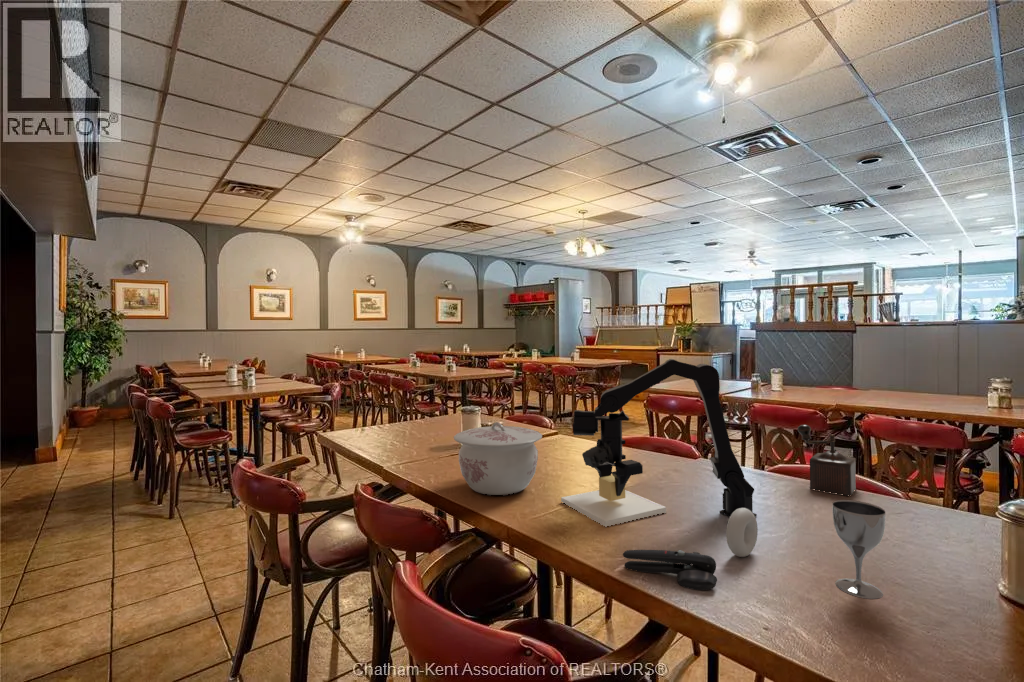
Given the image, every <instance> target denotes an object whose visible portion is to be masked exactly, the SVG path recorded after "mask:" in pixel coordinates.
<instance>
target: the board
mask: <svg viewBox="0 0 1024 682" xmlns="http://www.w3.org/2000/svg"><path fill="white" fill-rule="evenodd" d="M560 499H561V501H560V503H561V502H563V503H565V504H566V505H568V506H570V507H572V508H573V509H572V508H571V509H572V510H574V509H575V510H577V511H578V512H577V511H576V512H577V513H579V512H580V513H579V514H581V513H582V514H581V515H583V514H584V515H586V516H587V518H588V517H589V518H588V519H590V518H591V519H590V520H592V521H593V520H594V521H593V522H595V521H596V522H595V523H597V522H598V523H597V524H599V523H600V524H599V525H601V526H602V525H603V526H602V527H604V526H605V527H604V528H608V527H607V526H609V527H612V526H611V525H613V526H616V525H615V524H617V525H621V524H625V523H624V522H626V523H629V522H628V521H630V522H633V521H632V520H634V521H637V520H636V519H638V520H641V519H640V518H643V519H645V518H644V517H647V518H649V517H648V516H651V517H654V516H653V515H655V516H658V515H657V514H659V515H663V514H662V513H664V514H667V506H664V505H663V504H660V503H657V502H654V501H652V500H650V499H648V498H646V497H643V496H641V495H639V494H636V493H634V492H631V491H629V490H626V489H625V498H623V499H618V500H613V501H609V500H607V499H605V498H603V497H601V496H599V489H598V490H591V491H587V492H581V493H577V494H572V495H568V496H567V495H566V496H561V497H560ZM563 503H562V504H563ZM565 504H564V505H565ZM566 505H565V506H566ZM568 506H567V507H568ZM570 507H569V508H570ZM575 510H574V511H575ZM584 515H583V516H584ZM586 516H585V517H586ZM620 523H621V524H620Z"/></svg>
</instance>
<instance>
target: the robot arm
mask: <svg viewBox="0 0 1024 682" xmlns="http://www.w3.org/2000/svg"><path fill="white" fill-rule="evenodd" d="M718 371H719V370H718V369H717V368H716V367H715V366H713V365H709V364H705V363H699V364H697V365H693V364H690V363H686V362H682V361H678V360H676V359H673V358H669V359H667V360H665V362H663V363H661V364H659V365H658V366H656V367H654V368H652V369H651V370H648V371H647V372H645V373H643V374H641V375H639V376H638V377H636V378H635V379H633V380H631V381H629V382H626V383H624V384H620V385H617V386H614V387H611V388H608V389H606V390H605V391H603V392H602V393H601V395H600V400H599V404H597V406H595V409H594V410H593V411H592V410H579V409H578V410H577V409H575V410H574V411H573V412H574V414H573V424H572V432H573V436H590V437H591V436H593V437H594V436H595V434H596V433H599V421H600V438H598V439H597V441H596V445H595V446H593V447H590V448H589V449H587V450H585V451H584V452H582V458H583V462H584V464H585V466H589V467H591V469H595V470H596V472H597V473H598V476H599V477H605V476H610V475H613V476H614V477H615V489H616V495H617V496H620V495H621V493H622V491H623V489H624V487H625V488H626V485H627V483H628V481H629V479H630V478H631V476H635V475H641V474H644V471H643V470H644V468H643V464H642V463H641V462H639V461H637V460H633V459H627V460H626V458H627V457H626V455H625V454H623V445H625V444H626V439H623V421H625V422H626V421H627V422H628V421H629V420H630V418H629V415H628V414H626V413H625V411H624V410H621V411H620V409H622V408H623V407H624V406H626V405H627V404H628V403H629V402H630V401H631V400H632V399H633V398H634V397H635V396H637V395H639V394H641V393H643V392H645V391H647V390H649V389H650V388H652V387H654V386H655V385H657V384H660V382H663V381H665V380H666V379H668V378H670V377H672V376H677V377H682V378H686V379H689V380H691V381H693V383H694V386H695V387H696V389H697V392H698V393H699V394H700V398H701V399H702V402H703V406H704V409H705V410H704V411H705V414H706V417H707V423H708V426H709V430H710V431H709V432H710V435H711V439H712V442H713V447H714V457H709V460H710V463H711V465H712V474H714V476H715V477H716V479H717V480H719V481H720V483H721V484H722V485H723V486H725V487H726V488H723V493H722V509H721V510H719V513H720V514H722V515H724V516H727V517H729V518H730V516H731V514H732V513H733V512H734V511H735V510H736V509H738V508H746V509H748V510H750V511H751V512H752V513H753V514H754V516H755V518H756V517H757V516H758V515H757V513H755V512H754V511H753V495H754V492H755V487H753V486H752V485H751V484H750V483H749V481H748V480H747V479H746V478H745V475H744V472H743V470H742V468H741V465H740V464H739V461H738V459H737V457H736V455H735V454H734V452H733V449H732V445H731V444H732V443H731V440H730V436H729V433H728V429H727V425H726V420H725V416H724V413H723V409H722V405H721V401H720V389H721V388H720V387H721V384H720V383H721V382H720V375H719V372H718ZM618 411H620V412H619V413H617V412H618ZM606 414H608V415H606ZM613 467H615V470H614V471H613Z"/></svg>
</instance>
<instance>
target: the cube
mask: <svg viewBox="0 0 1024 682" xmlns="http://www.w3.org/2000/svg"><path fill="white" fill-rule="evenodd" d="M598 490H599V496H601V497H603V498H605V499H607V500H609V501H613V500H618V499H623V498H625V490H626V486H625V487H624V489H623V491H622V493H621V495H620V496H617V495H616V489H615V477H614V476H613V475H612V474H611V475H610V476H605V477H600V476H599V477H598Z"/></svg>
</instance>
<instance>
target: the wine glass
mask: <svg viewBox="0 0 1024 682" xmlns="http://www.w3.org/2000/svg"><path fill="white" fill-rule="evenodd" d="M831 509H832V519H833V525H834V529H835V532H836V535H837V536H838V538H839V539H840V540H841V541H842V543H843V544H844V545H845V546H846V547H847V548H848V549H849V550H850V552H851V554H852V557H853V560H854V566H855V578H846V577H845V578H839V579H837V580H836V581H835V586H836V587H837V589H839V590H841V591H842V592H844V593H846V594H848V595H850V596H853V597H857V598H861V599H866V600H867V599H868V600H878V599H881V598H883V596H884V592H883V591H882V590H881V589H880V588H879V587H877V586H875V585H874V584H871V583H869V582H867V581H863V580H862V567H863V561H864V559H865V557H866V555H868V553H869V552H871V551H872V550H874V549H875V548H876V547H878V545H880V544H881V542H882V540H883V537H884V535H885V529H886V519H887V518H886V515H887V514H886V510H885V509H884V508H883V507H880V506H878V505H876V504H872V503H870V502H865V501H860V500H853V499H851V500H850V499H839V500H838V499H837V500H835V501H833V502H832V507H831Z"/></svg>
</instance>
